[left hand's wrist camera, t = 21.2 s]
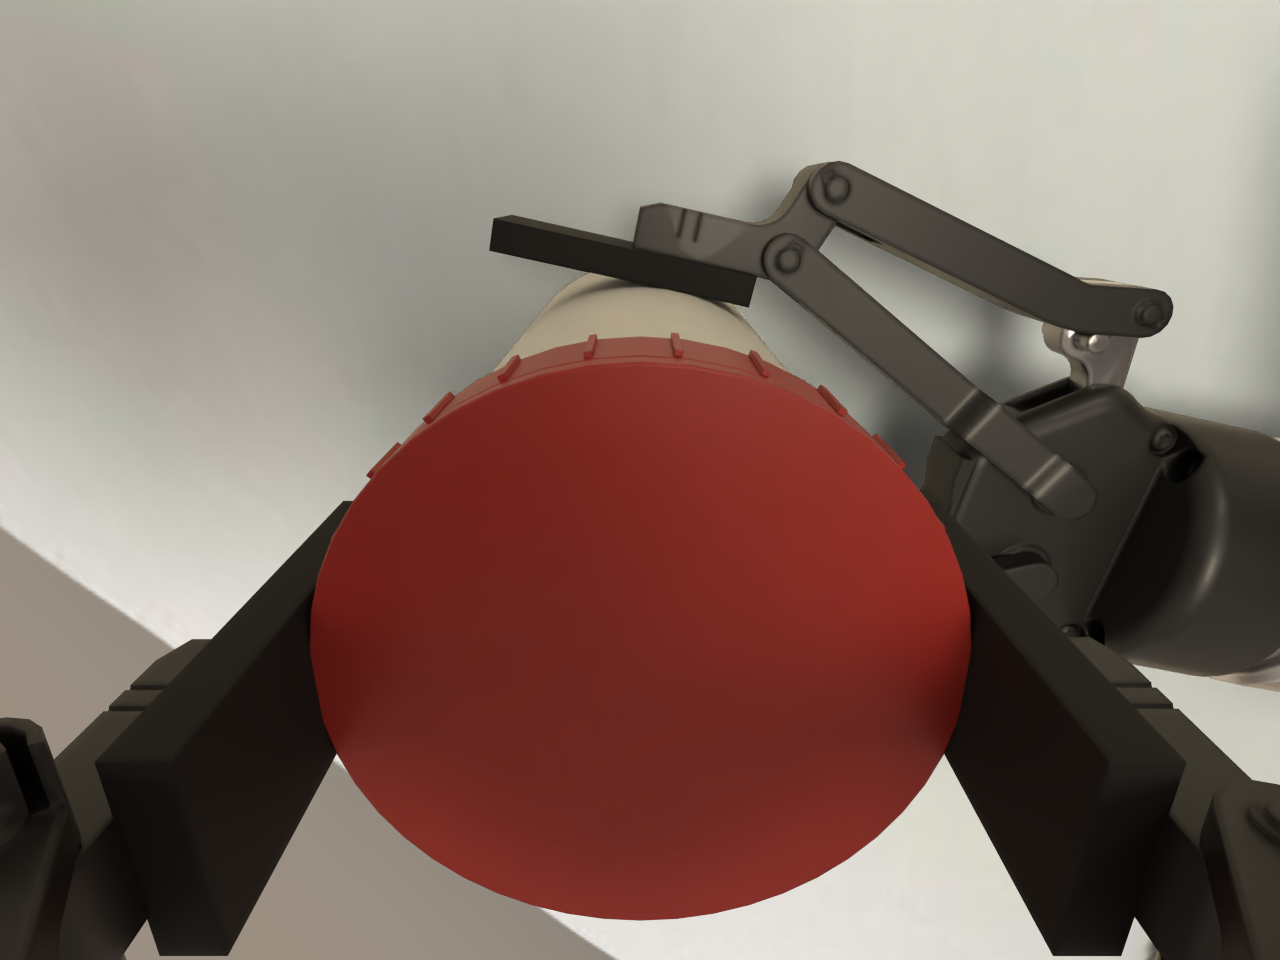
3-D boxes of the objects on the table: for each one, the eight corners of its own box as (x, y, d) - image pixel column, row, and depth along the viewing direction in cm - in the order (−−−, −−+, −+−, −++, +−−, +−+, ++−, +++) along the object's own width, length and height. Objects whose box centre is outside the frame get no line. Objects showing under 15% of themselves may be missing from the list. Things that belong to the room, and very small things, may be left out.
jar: (783, 283, 25) (1007, 428, 10) (732, 510, 28) (842, 889, 13) (534, 241, 25) (362, 324, 9) (509, 476, 28) (348, 830, 12)
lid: (961, 780, 13) (1006, 862, 12) (465, 879, 14) (442, 968, 13) (889, 252, 10) (937, 264, 8) (247, 426, 11) (178, 467, 9)
